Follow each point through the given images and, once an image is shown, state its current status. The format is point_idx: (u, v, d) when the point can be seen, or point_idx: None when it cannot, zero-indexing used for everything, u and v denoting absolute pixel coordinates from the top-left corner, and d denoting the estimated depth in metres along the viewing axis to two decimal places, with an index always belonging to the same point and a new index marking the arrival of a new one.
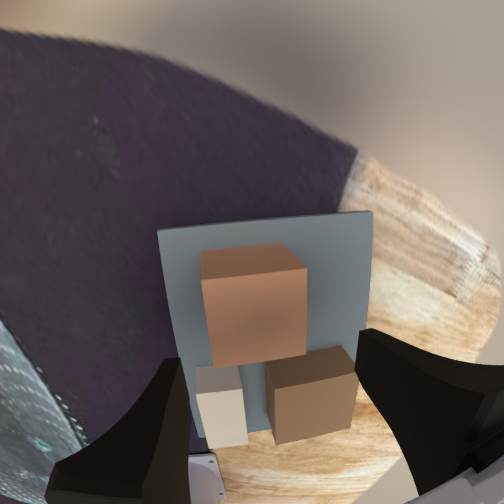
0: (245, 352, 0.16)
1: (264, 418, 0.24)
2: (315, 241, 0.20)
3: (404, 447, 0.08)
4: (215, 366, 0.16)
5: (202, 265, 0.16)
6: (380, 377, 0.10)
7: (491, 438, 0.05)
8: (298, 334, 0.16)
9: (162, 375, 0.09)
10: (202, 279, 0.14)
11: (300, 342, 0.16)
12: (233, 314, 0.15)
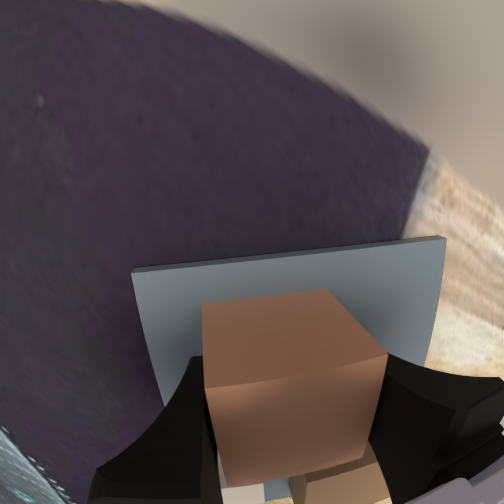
0: (276, 469, 0.09)
1: (284, 488, 0.17)
2: (373, 283, 0.13)
3: (379, 457, 0.08)
4: (230, 485, 0.09)
5: (205, 343, 0.09)
6: None
7: (466, 455, 0.05)
8: (357, 439, 0.09)
9: (193, 373, 0.10)
10: (206, 384, 0.07)
11: (357, 447, 0.09)
12: (261, 429, 0.08)
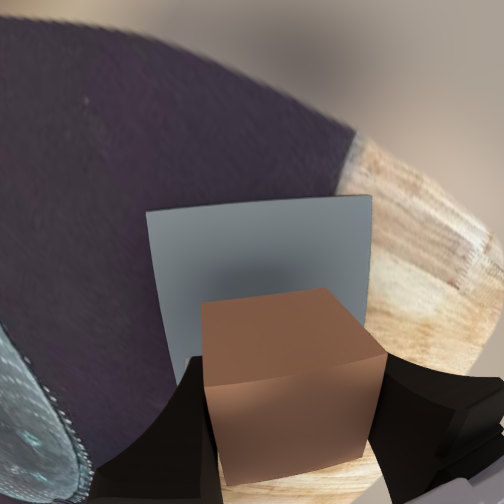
0: (276, 468, 0.09)
1: None
2: (311, 225, 0.19)
3: (379, 457, 0.08)
4: (229, 484, 0.09)
5: (204, 342, 0.09)
6: None
7: (465, 455, 0.05)
8: (357, 438, 0.09)
9: (193, 373, 0.10)
10: (206, 383, 0.07)
11: (357, 447, 0.09)
12: (261, 429, 0.08)
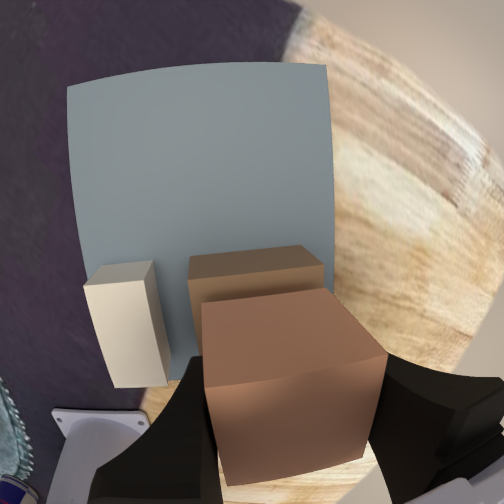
0: (276, 469, 0.09)
1: None
2: (250, 90, 0.15)
3: (379, 457, 0.08)
4: (230, 485, 0.09)
5: (205, 342, 0.09)
6: None
7: (466, 455, 0.05)
8: (357, 439, 0.09)
9: (193, 373, 0.10)
10: (206, 384, 0.07)
11: (357, 447, 0.09)
12: (261, 429, 0.08)
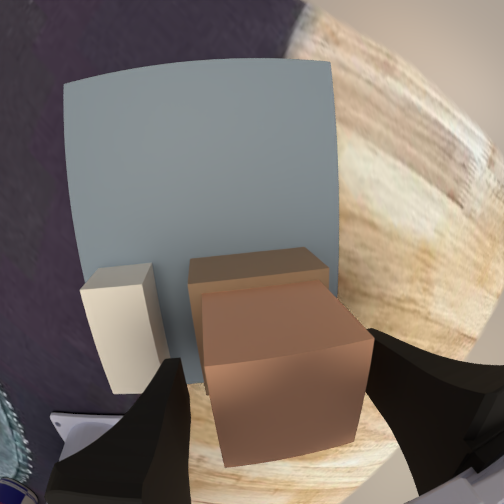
0: (271, 450, 0.09)
1: None
2: (252, 87, 0.14)
3: (404, 447, 0.08)
4: (227, 466, 0.09)
5: (205, 328, 0.10)
6: (380, 377, 0.10)
7: (491, 438, 0.05)
8: (348, 422, 0.10)
9: (162, 375, 0.09)
10: (206, 363, 0.08)
11: (348, 430, 0.10)
12: (257, 408, 0.09)
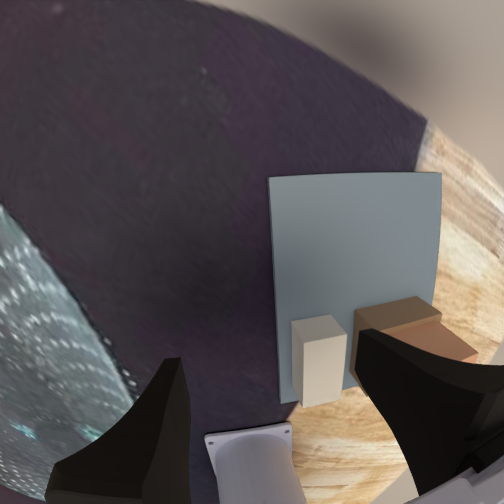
0: None
1: (346, 376, 0.24)
2: (401, 195, 0.21)
3: (404, 447, 0.08)
4: None
5: None
6: (380, 377, 0.10)
7: (491, 438, 0.05)
8: None
9: (162, 375, 0.09)
10: None
11: None
12: None
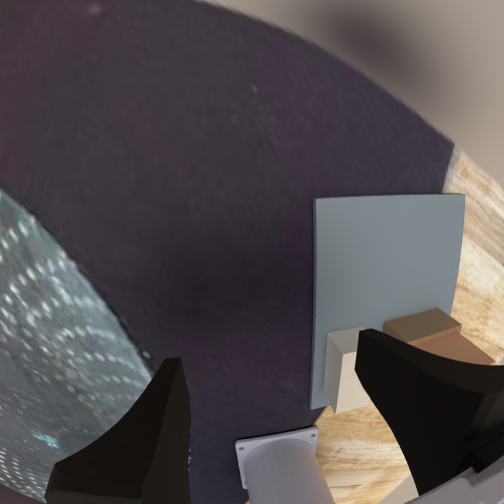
0: None
1: None
2: (430, 215, 0.22)
3: (404, 447, 0.08)
4: None
5: None
6: (380, 377, 0.10)
7: (491, 438, 0.05)
8: None
9: (162, 375, 0.09)
10: None
11: None
12: None
